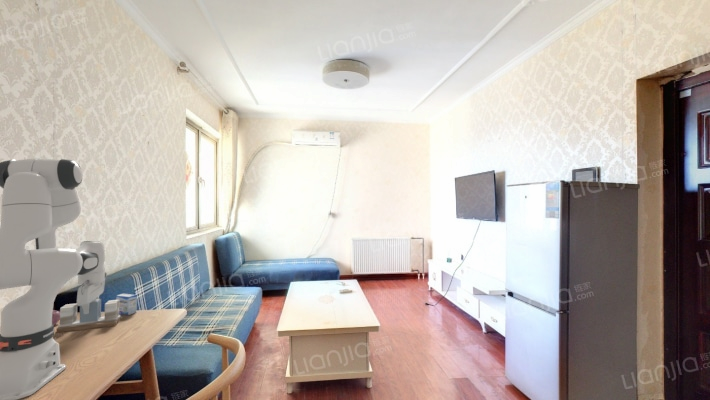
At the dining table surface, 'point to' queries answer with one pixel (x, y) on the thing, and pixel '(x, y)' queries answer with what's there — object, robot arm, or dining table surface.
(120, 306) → the medicine box
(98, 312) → the module block
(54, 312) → the video game controller
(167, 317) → the dining table surface
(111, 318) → the rail mount
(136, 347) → the dining table surface
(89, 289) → the robot arm
